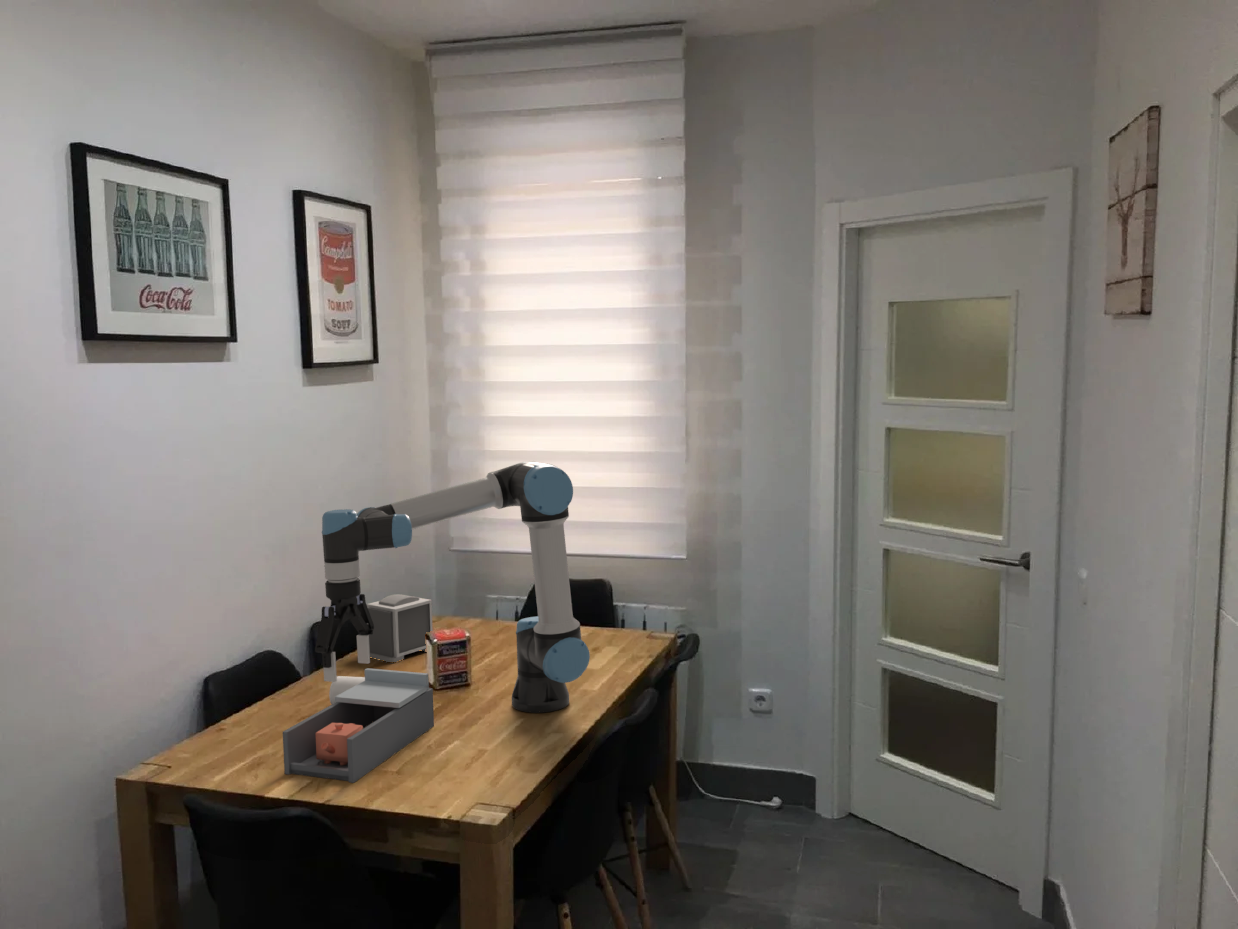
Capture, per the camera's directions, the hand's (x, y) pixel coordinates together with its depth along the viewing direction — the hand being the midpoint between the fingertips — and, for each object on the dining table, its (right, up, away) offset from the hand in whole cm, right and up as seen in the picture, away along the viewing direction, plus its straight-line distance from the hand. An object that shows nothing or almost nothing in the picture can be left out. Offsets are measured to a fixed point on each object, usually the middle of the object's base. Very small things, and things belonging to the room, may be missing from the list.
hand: (347, 671), depth 218 cm
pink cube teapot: (-1, -20, -2) cm, 20 cm away
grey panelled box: (-7, -13, +86) cm, 88 cm away
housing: (+2, -19, +7) cm, 21 cm away
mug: (-8, -17, +38) cm, 43 cm away
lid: (+4, -9, +15) cm, 18 cm away
